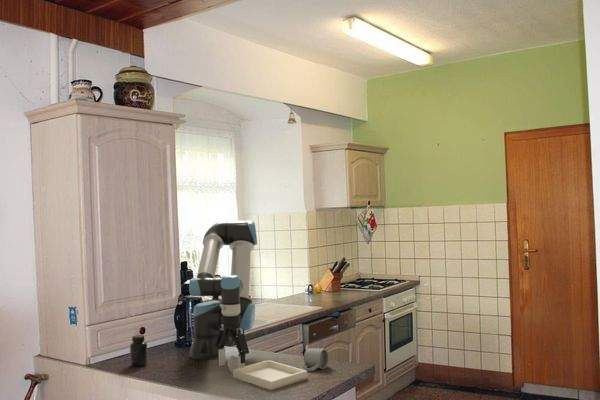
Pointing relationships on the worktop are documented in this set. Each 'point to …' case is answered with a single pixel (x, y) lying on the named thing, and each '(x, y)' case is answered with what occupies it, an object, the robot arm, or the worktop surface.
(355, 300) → the worktop surface
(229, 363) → the grey rough-textured block
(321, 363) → the ceramic mug
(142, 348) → the supplement bottle
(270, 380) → the tray
